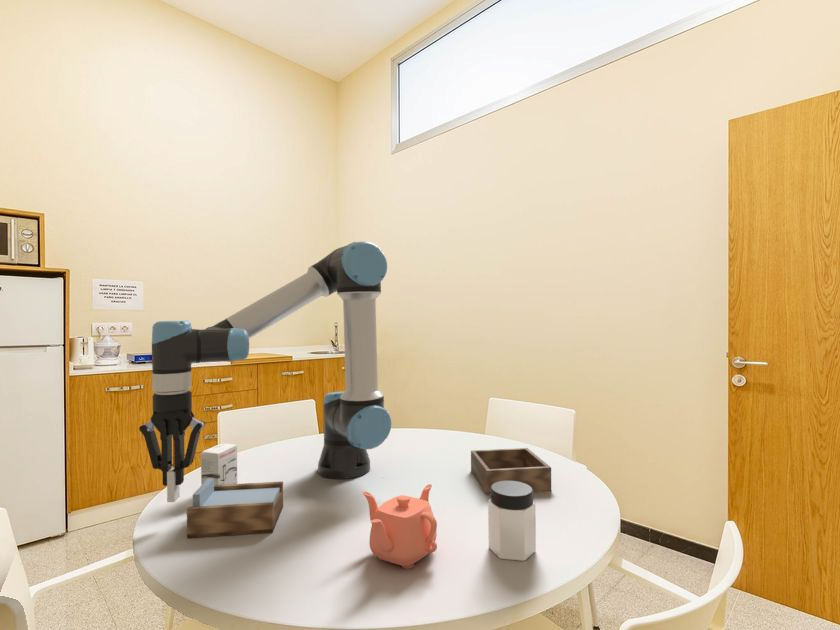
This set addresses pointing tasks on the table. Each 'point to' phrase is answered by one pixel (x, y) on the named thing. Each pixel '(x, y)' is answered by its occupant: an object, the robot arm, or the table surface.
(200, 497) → the lid
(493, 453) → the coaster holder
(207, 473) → the ink box
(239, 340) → the robot arm
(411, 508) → the teapot
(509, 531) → the jar
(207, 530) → the box
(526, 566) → the table surface
